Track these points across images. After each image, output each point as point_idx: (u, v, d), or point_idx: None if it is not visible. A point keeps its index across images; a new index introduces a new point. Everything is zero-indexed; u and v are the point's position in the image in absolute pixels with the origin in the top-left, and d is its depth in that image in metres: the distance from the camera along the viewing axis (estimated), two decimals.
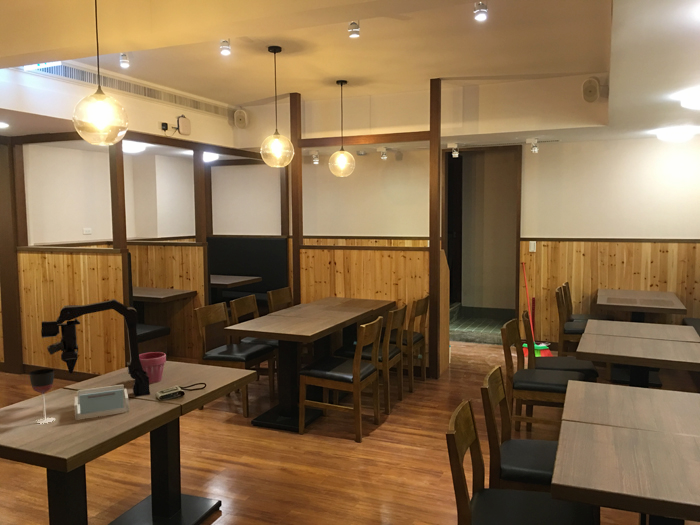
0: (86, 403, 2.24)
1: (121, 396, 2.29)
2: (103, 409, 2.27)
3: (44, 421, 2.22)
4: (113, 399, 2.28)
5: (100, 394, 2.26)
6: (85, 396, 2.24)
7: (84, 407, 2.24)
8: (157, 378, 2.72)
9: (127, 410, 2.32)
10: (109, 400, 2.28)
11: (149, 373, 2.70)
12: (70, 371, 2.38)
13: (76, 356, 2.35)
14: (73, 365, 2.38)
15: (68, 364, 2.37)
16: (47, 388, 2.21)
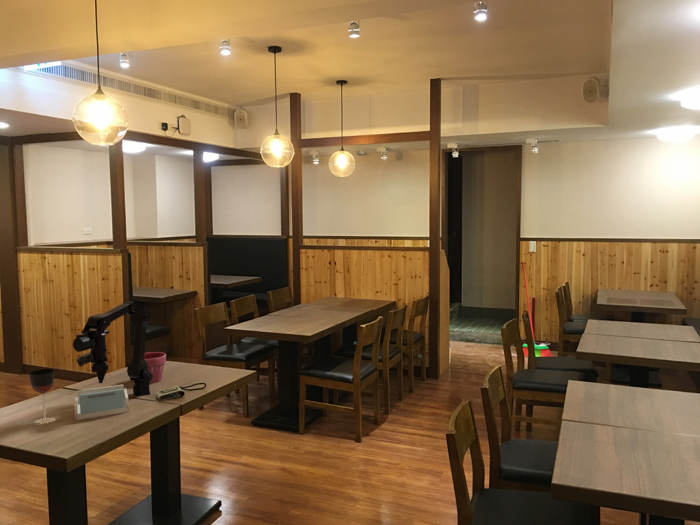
0: (86, 403, 2.24)
1: (121, 396, 2.29)
2: (103, 409, 2.27)
3: (44, 421, 2.22)
4: (113, 399, 2.28)
5: (100, 394, 2.26)
6: (85, 396, 2.24)
7: (84, 407, 2.24)
8: (157, 378, 2.72)
9: (127, 410, 2.32)
10: (109, 400, 2.28)
11: None
12: (100, 381, 2.32)
13: (107, 368, 2.25)
14: (103, 375, 2.32)
15: (98, 374, 2.31)
16: (47, 388, 2.21)
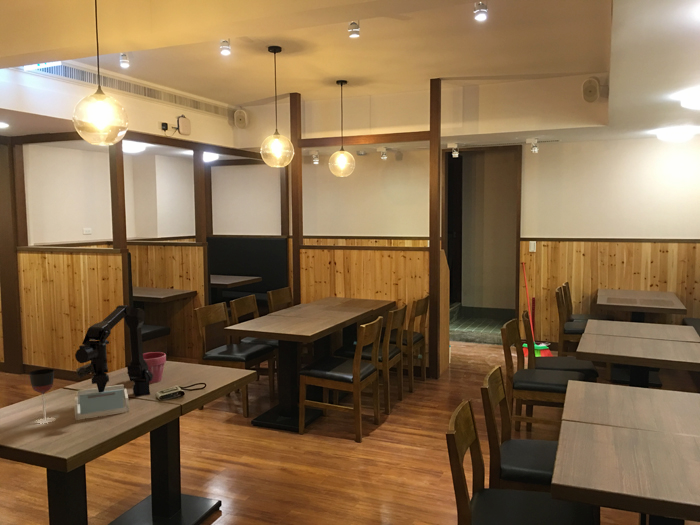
0: (86, 403, 2.24)
1: (121, 396, 2.29)
2: (103, 409, 2.27)
3: (44, 421, 2.22)
4: (113, 399, 2.28)
5: (100, 394, 2.26)
6: (85, 396, 2.24)
7: (84, 407, 2.24)
8: (157, 378, 2.72)
9: (127, 410, 2.32)
10: (109, 400, 2.28)
11: None
12: None
13: (107, 380, 2.20)
14: (103, 386, 2.27)
15: (98, 385, 2.26)
16: (47, 388, 2.21)
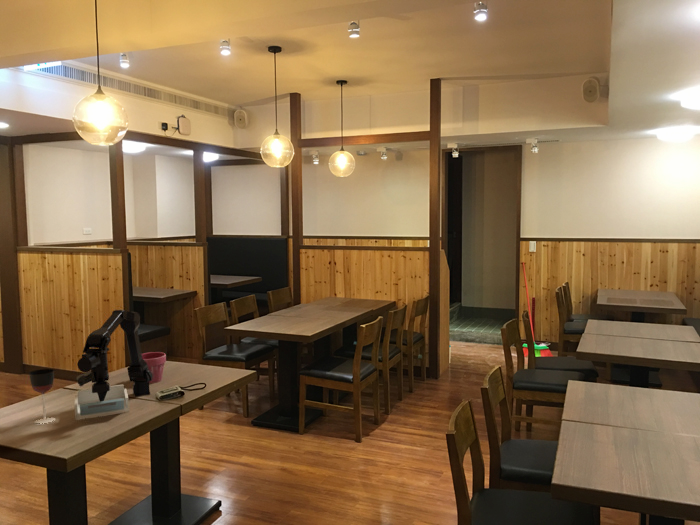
0: (86, 410, 2.22)
1: (122, 403, 2.27)
2: (103, 411, 2.27)
3: (44, 421, 2.22)
4: (114, 405, 2.26)
5: (101, 404, 2.22)
6: (85, 406, 2.20)
7: (84, 412, 2.23)
8: (157, 378, 2.72)
9: (127, 410, 2.32)
10: (109, 406, 2.26)
11: None
12: (101, 400, 2.23)
13: (108, 389, 2.15)
14: (104, 394, 2.22)
15: (99, 393, 2.21)
16: (47, 388, 2.21)
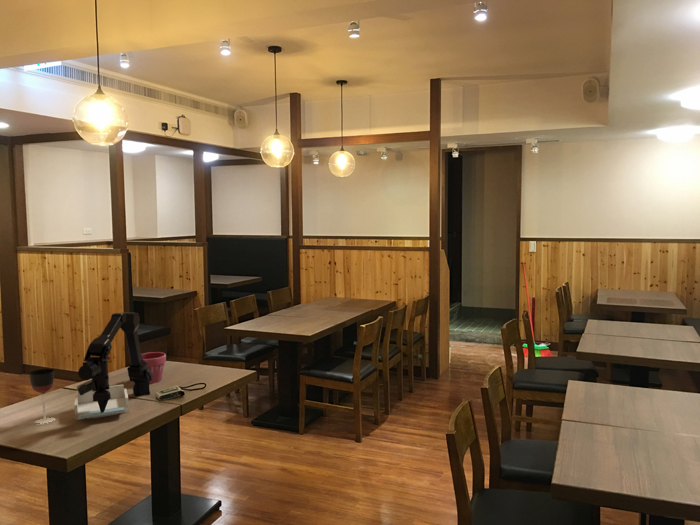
0: None
1: None
2: None
3: (44, 421, 2.22)
4: None
5: (101, 415, 2.21)
6: (86, 417, 2.19)
7: None
8: (157, 378, 2.72)
9: (127, 410, 2.32)
10: None
11: None
12: (102, 410, 2.21)
13: (109, 397, 2.15)
14: (105, 404, 2.21)
15: (100, 403, 2.20)
16: (47, 388, 2.21)
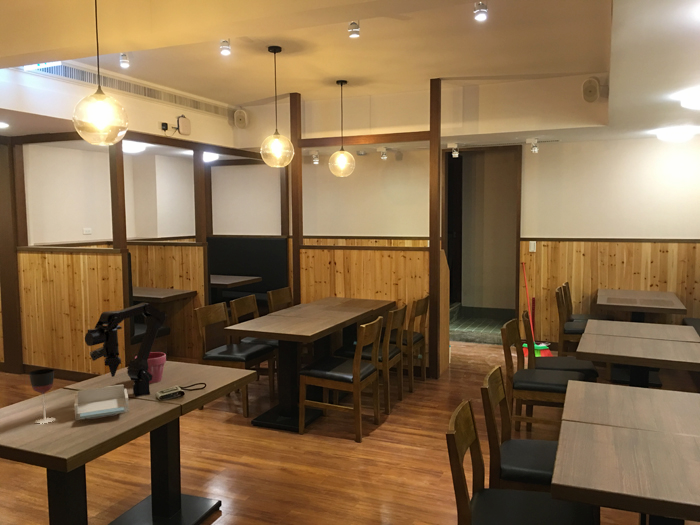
0: None
1: None
2: None
3: (44, 421, 2.22)
4: None
5: (101, 416, 2.21)
6: (86, 417, 2.19)
7: None
8: (157, 378, 2.72)
9: (127, 410, 2.32)
10: None
11: None
12: (112, 374, 2.42)
13: (119, 362, 2.35)
14: (115, 368, 2.41)
15: (111, 367, 2.40)
16: (47, 388, 2.21)
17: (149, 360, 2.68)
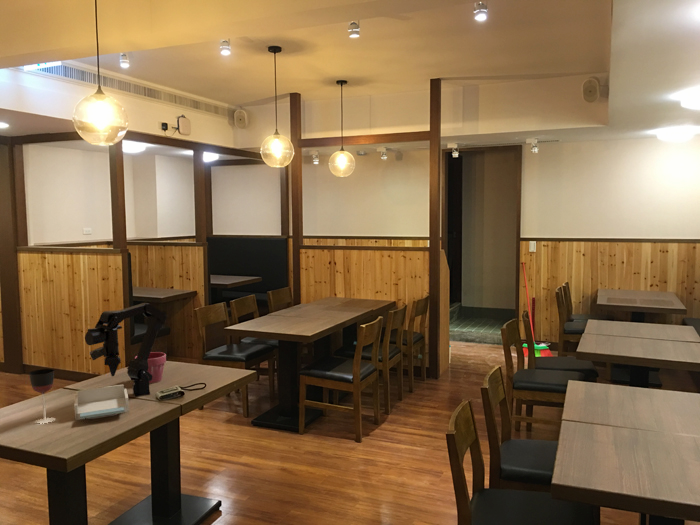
0: None
1: None
2: None
3: (44, 421, 2.22)
4: None
5: (101, 416, 2.21)
6: (86, 417, 2.19)
7: None
8: (157, 378, 2.72)
9: (127, 410, 2.32)
10: None
11: None
12: (112, 374, 2.42)
13: (119, 362, 2.35)
14: (115, 368, 2.41)
15: (110, 367, 2.40)
16: (47, 388, 2.21)
17: (149, 360, 2.68)
